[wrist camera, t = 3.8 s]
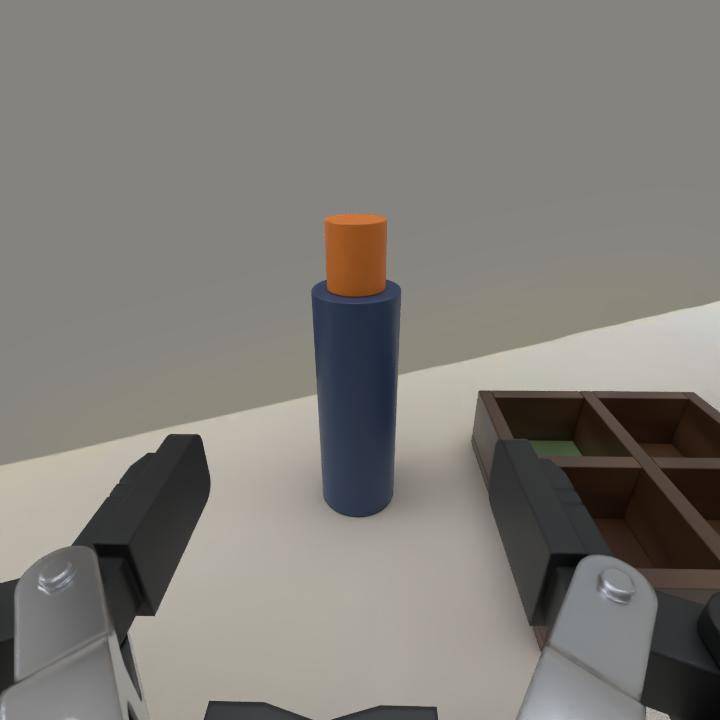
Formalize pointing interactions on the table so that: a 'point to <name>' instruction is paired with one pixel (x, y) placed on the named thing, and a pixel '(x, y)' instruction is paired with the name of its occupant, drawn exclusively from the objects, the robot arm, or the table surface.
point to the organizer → (627, 473)
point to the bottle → (357, 365)
